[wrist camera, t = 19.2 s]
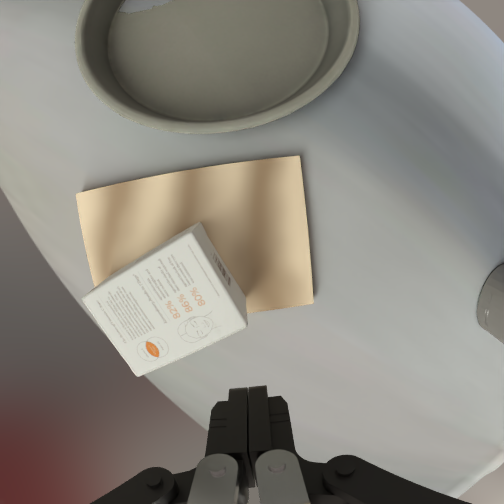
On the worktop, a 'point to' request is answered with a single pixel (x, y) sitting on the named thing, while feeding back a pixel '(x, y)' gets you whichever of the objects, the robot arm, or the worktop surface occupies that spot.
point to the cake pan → (214, 59)
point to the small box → (169, 302)
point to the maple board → (211, 225)
